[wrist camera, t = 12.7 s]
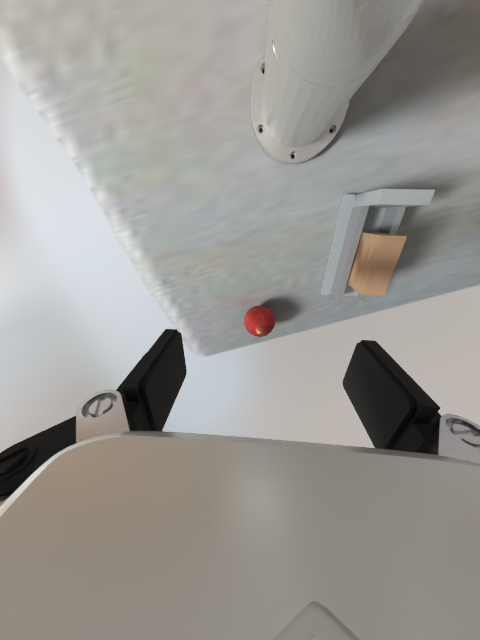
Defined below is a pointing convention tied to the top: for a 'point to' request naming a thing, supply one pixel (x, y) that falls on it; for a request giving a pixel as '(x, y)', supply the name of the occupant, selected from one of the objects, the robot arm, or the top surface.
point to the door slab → (375, 262)
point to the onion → (259, 321)
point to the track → (370, 216)
